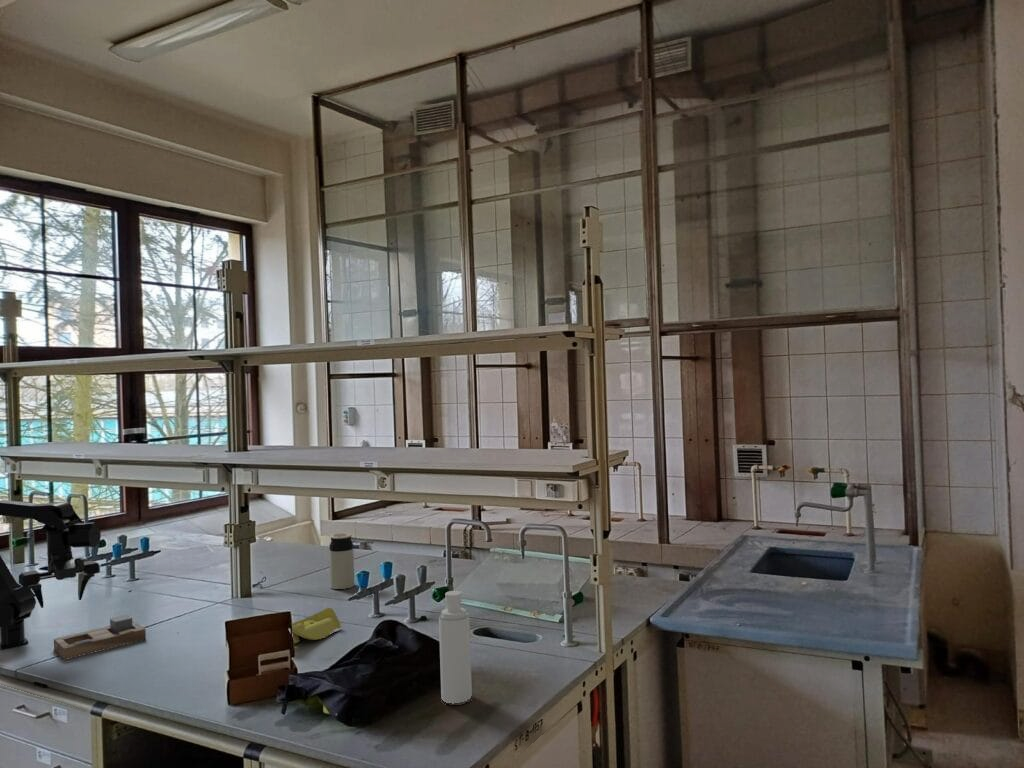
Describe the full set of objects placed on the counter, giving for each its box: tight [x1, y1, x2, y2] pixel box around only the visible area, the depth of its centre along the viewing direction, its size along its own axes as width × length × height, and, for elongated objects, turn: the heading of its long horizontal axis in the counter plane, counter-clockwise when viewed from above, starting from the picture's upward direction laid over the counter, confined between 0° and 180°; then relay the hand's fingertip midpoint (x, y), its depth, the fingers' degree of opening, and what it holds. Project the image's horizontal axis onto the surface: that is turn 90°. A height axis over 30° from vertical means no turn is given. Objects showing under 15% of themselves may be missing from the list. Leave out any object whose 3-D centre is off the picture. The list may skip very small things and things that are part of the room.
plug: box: [109, 614, 133, 634], centre depth 207 cm, size 4×4×6 cm
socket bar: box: [53, 620, 147, 660], centre depth 203 cm, size 11×20×3 cm, turn 134°
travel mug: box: [329, 532, 355, 590], centre depth 253 cm, size 8×8×18 cm
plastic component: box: [291, 607, 342, 644], centre depth 203 cm, size 20×7×10 cm
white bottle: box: [438, 590, 473, 704], centre depth 161 cm, size 7×7×25 cm
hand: (61, 603), depth 205 cm, fingers open, 9 cm apart
